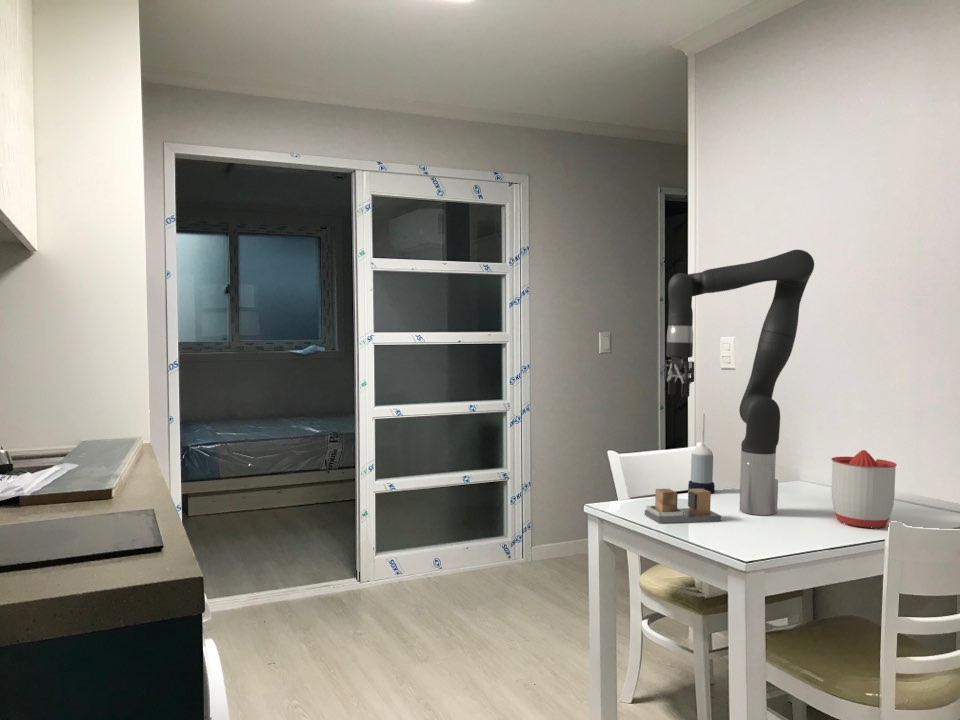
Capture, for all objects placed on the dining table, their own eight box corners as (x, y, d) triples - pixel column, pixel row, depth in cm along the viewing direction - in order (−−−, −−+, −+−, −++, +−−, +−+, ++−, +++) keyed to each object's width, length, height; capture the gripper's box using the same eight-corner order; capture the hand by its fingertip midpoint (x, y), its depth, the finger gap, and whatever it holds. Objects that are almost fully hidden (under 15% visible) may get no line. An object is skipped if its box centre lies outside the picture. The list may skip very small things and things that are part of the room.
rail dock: (704, 513, 203) (705, 486, 203) (721, 521, 195) (721, 493, 194) (644, 515, 200) (645, 488, 200) (658, 523, 191) (659, 495, 191)
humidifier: (711, 489, 237) (713, 413, 236) (717, 494, 229) (719, 415, 228) (685, 488, 238) (688, 412, 237) (690, 493, 229) (693, 415, 229)
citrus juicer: (896, 520, 199) (898, 448, 198) (893, 534, 184) (895, 456, 184) (833, 512, 207) (835, 443, 207) (825, 525, 193) (828, 450, 192)
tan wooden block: (670, 510, 199) (670, 488, 199) (677, 514, 194) (678, 492, 194) (654, 510, 198) (655, 489, 198) (662, 514, 194) (662, 492, 193)
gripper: (703, 341, 209) (701, 397, 209) (680, 341, 222) (678, 393, 223) (679, 341, 207) (677, 397, 208) (657, 340, 221) (656, 393, 221)
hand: (678, 395), depth 215 cm, fingers open, 8 cm apart
